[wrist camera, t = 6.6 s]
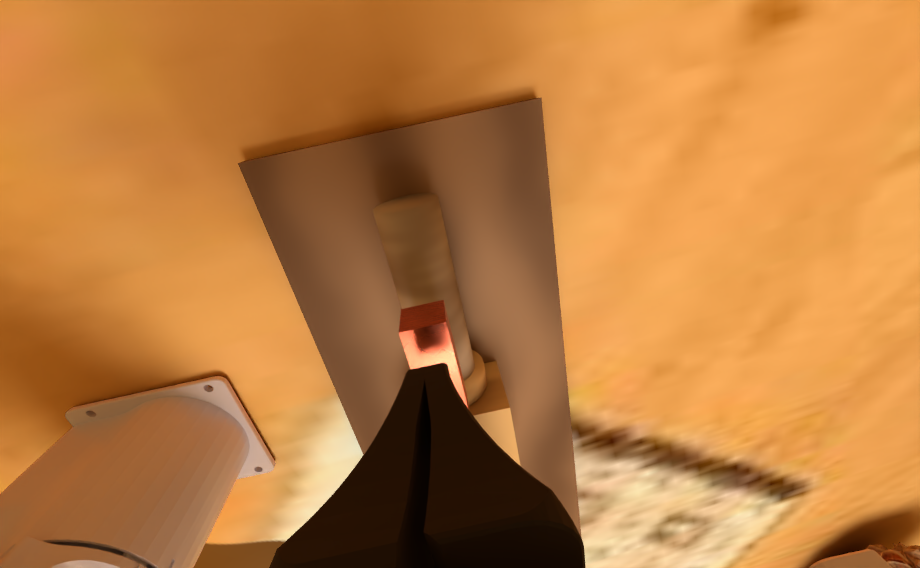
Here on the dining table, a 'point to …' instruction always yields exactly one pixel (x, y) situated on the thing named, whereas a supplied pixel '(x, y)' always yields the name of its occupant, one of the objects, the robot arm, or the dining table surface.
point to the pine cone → (899, 555)
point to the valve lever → (431, 340)
